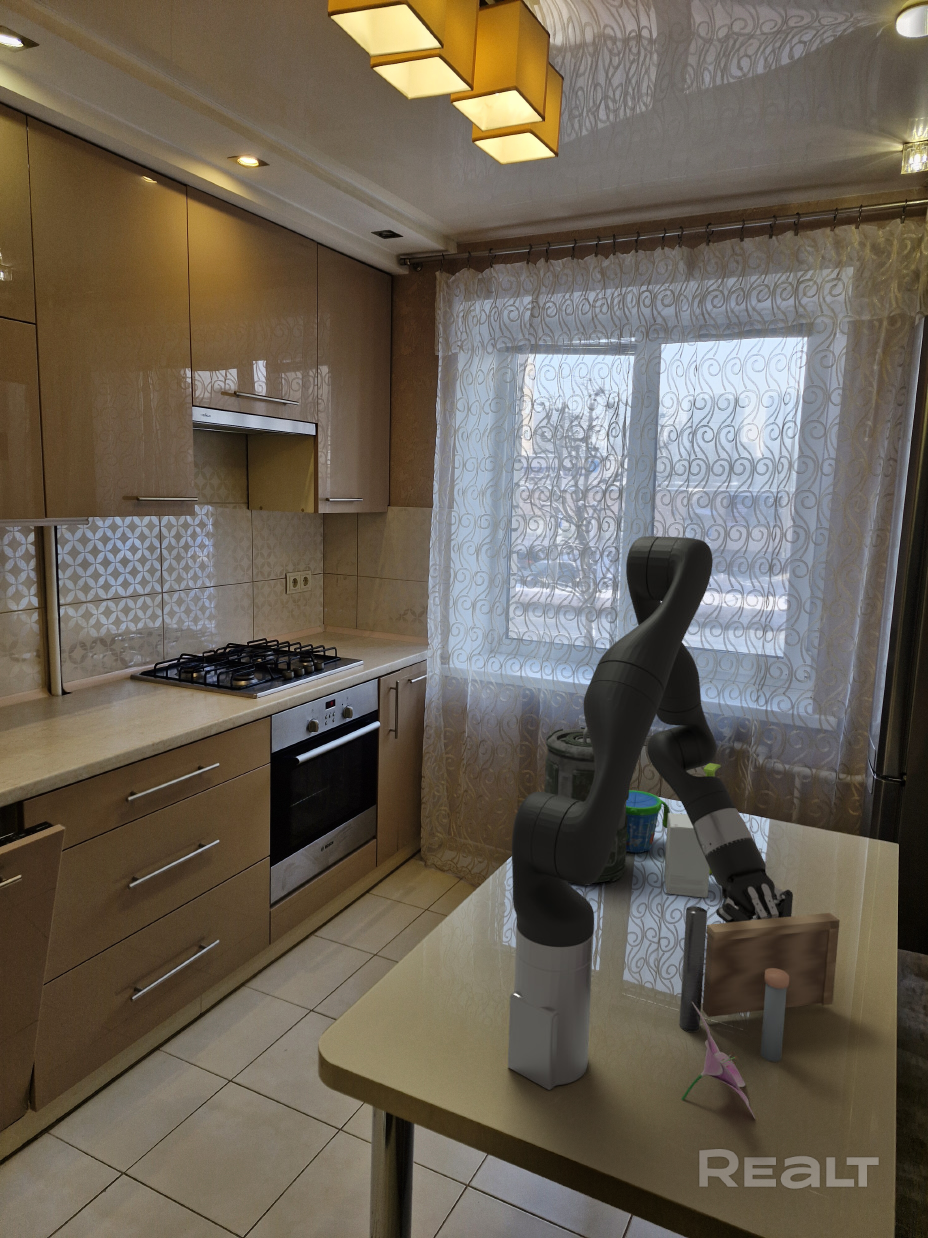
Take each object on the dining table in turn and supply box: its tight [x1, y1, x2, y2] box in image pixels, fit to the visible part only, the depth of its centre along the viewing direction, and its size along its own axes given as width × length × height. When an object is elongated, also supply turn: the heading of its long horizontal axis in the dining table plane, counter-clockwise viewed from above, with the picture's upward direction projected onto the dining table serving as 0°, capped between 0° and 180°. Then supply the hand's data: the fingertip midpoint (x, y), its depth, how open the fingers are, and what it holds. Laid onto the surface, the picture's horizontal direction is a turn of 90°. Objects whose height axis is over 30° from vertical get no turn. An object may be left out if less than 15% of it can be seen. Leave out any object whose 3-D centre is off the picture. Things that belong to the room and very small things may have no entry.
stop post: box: [760, 968, 789, 1063], centre depth 100 cm, size 3×3×11 cm
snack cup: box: [626, 789, 671, 854], centre depth 164 cm, size 16×10×10 cm
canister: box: [544, 726, 630, 886], centre depth 152 cm, size 16×16×28 cm
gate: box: [701, 912, 840, 1018], centre depth 108 cm, size 18×2×12 cm, turn 102°
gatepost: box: [678, 905, 708, 1033], centre depth 105 cm, size 3×3×16 cm
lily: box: [681, 1002, 756, 1120], centre depth 92 cm, size 12×12×10 cm
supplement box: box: [663, 812, 710, 899], centre depth 146 cm, size 7×7×13 cm
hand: (784, 966), depth 110 cm, fingers closed
